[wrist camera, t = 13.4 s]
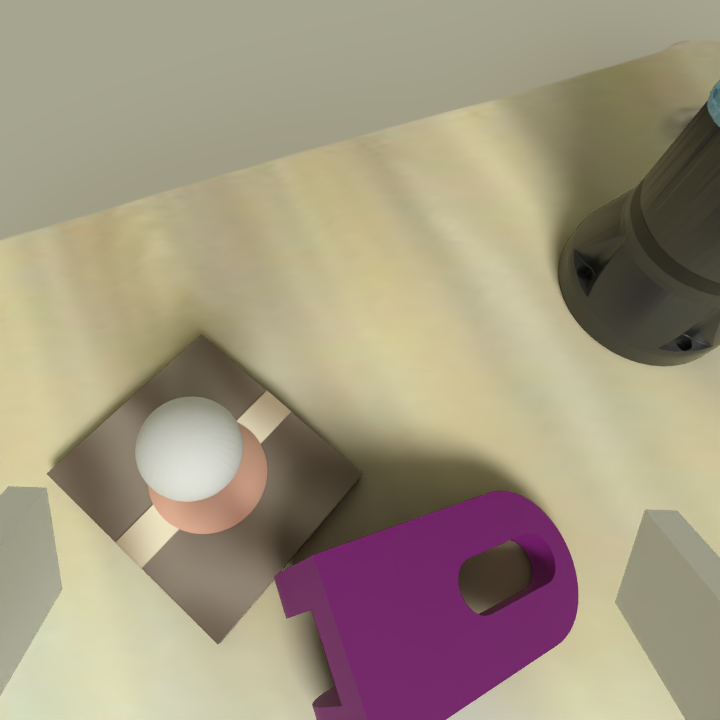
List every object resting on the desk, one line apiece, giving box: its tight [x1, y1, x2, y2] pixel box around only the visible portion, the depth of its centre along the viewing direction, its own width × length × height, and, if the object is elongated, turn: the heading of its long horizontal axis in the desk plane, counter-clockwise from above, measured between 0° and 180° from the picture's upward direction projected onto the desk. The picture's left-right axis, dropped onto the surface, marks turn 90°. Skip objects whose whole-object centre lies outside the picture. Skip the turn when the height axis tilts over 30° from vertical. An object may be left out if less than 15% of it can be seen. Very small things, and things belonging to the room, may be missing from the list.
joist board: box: [47, 334, 363, 644], centre depth 39 cm, size 14×16×1 cm
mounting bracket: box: [274, 491, 578, 720], centre depth 36 cm, size 10×9×19 cm
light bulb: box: [135, 397, 244, 502], centre depth 34 cm, size 6×6×10 cm
